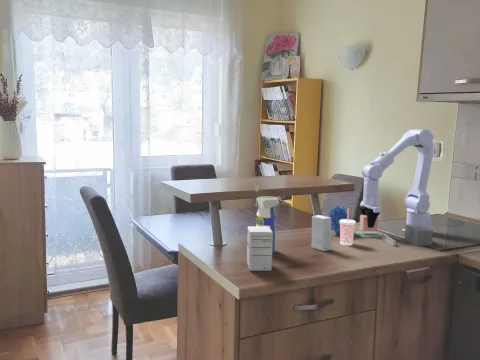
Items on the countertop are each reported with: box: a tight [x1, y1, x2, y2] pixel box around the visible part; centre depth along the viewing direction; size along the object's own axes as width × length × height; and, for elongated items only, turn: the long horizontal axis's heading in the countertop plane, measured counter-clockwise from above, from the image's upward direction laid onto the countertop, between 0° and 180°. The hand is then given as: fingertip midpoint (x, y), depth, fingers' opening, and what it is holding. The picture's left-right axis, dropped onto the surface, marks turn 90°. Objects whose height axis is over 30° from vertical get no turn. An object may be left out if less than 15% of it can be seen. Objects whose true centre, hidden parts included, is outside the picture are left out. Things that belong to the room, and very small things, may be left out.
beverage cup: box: [339, 207, 357, 246], centre depth 173 cm, size 6×6×14 cm
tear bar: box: [381, 233, 397, 247], centre depth 177 cm, size 1×10×2 cm, turn 7°
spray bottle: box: [253, 182, 280, 254], centre depth 161 cm, size 8×9×25 cm
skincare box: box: [311, 214, 332, 252], centre depth 166 cm, size 6×4×12 cm
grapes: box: [328, 205, 351, 235], centre depth 188 cm, size 12×7×12 cm, turn 117°
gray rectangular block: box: [403, 224, 434, 247], centre depth 178 cm, size 6×10×6 cm, turn 7°
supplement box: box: [246, 225, 273, 272], centre depth 145 cm, size 7×7×13 cm
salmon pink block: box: [358, 214, 379, 232], centre depth 188 cm, size 6×4×6 cm, turn 96°
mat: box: [354, 230, 382, 239], centre depth 189 cm, size 9×9×1 cm
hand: (368, 226), depth 188 cm, fingers closed on salmon pink block, 4 cm apart
